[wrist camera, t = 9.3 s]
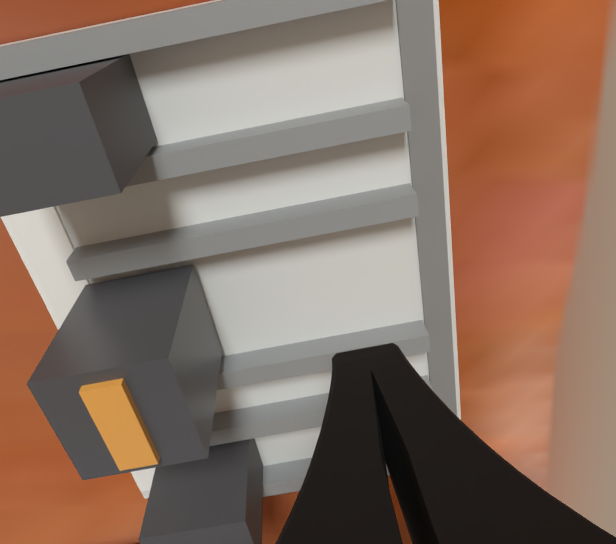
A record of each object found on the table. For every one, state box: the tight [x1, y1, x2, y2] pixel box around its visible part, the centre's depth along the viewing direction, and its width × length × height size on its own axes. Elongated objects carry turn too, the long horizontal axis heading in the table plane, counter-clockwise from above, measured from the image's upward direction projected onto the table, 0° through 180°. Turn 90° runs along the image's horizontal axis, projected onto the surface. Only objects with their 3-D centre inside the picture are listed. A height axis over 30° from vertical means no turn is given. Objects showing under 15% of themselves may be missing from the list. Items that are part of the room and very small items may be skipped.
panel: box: [0, 0, 461, 544], centre depth 14 cm, size 15×12×5 cm
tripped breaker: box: [27, 265, 222, 480], centre depth 13 cm, size 3×3×4 cm
